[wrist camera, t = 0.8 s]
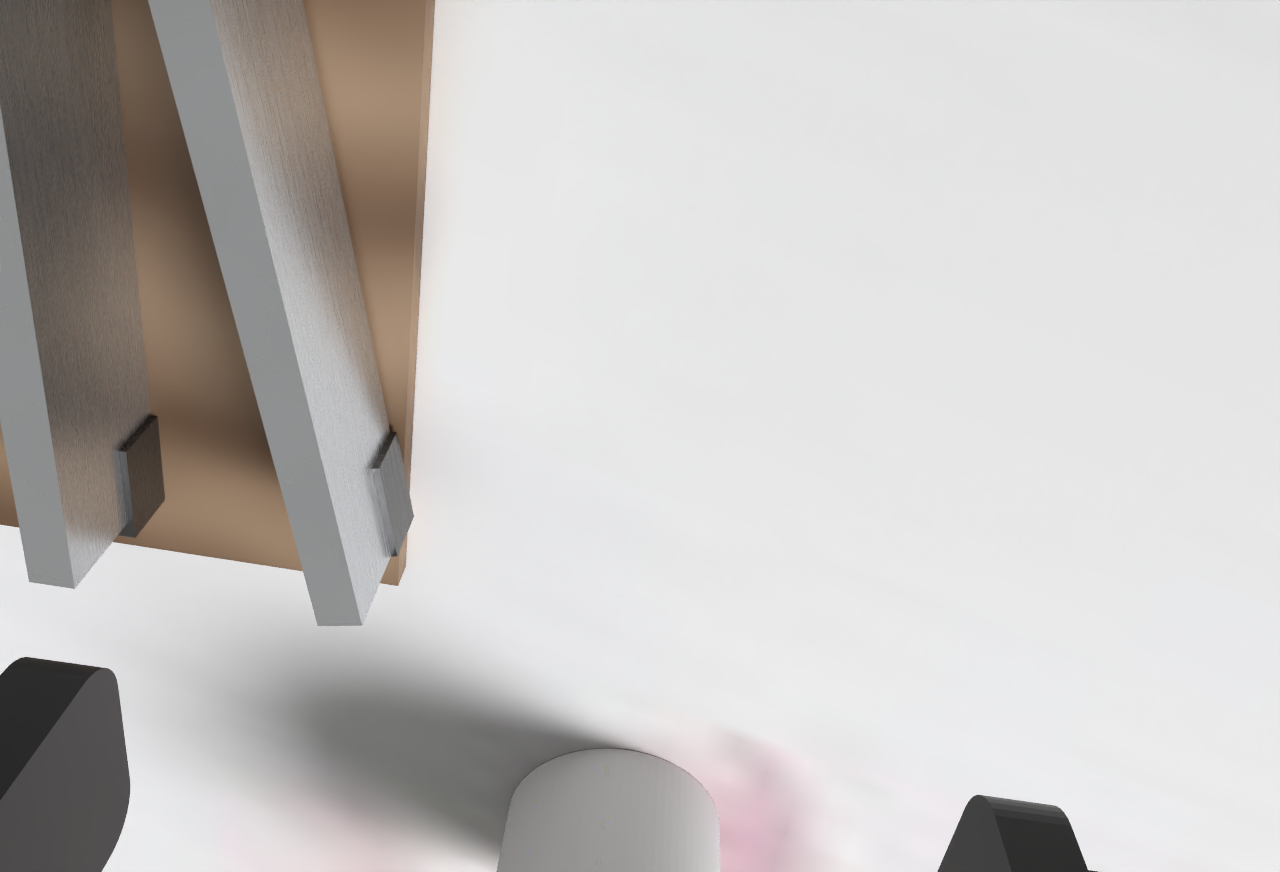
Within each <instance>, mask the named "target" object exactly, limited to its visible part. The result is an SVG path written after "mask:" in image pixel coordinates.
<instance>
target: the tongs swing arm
mask: <svg viewBox="0 0 1280 872" xmlns="http://www.w3.org/2000/svg"><path fill="white" fill-rule="evenodd" d="M148 3H149V6H150V10H151V14H152V17H153V21H154V25H155V28H156V32H157V36H158V39H159V43H160V47H161V50H162V54H163V58H164V61H165V65H166V69H167V72H168V76H169V80H170V84H171V87H172V91H173V95H174V98H175V102H176V106H177V109H178V113H179V117H180V120H181V124H182V128H183V131H184V135H185V139H186V142H187V146H188V150H189V153H190V157H191V161H192V164H193V168H194V172H195V175H196V179H197V183H198V187H199V190H200V194H201V198H202V201H203V205H204V209H205V212H206V216H207V220H208V223H209V227H210V231H211V234H212V238H213V242H214V245H215V249H216V253H217V256H218V260H219V264H220V267H221V271H222V275H223V278H224V282H225V286H226V289H227V293H228V297H229V301H230V304H231V308H232V312H233V315H234V319H235V323H236V326H237V330H238V334H239V337H240V341H241V345H242V348H243V352H244V356H245V359H246V363H247V367H248V370H249V374H250V378H251V381H252V385H253V389H254V392H255V396H256V400H257V404H258V407H259V411H260V415H261V418H262V422H263V426H264V429H265V433H266V437H267V440H268V444H269V448H270V451H271V455H272V459H273V462H274V466H275V470H276V473H277V477H278V481H279V484H280V488H281V492H282V495H283V499H284V503H285V506H286V510H287V514H288V518H289V521H290V525H291V529H292V532H293V536H294V540H295V543H296V547H297V551H298V554H299V558H300V562H301V565H302V569H303V573H304V576H305V580H306V584H307V587H308V591H309V595H310V598H311V602H312V606H313V609H314V613H315V617H316V621H317V624H318V626H358V625H363V622H364V620H365V617H366V615H367V613H368V610H369V608H370V605H371V603H372V601H373V598H374V596H375V593H376V591H377V588H378V586H379V584H380V581H381V579H382V576H383V574H384V572H385V569H386V567H387V564H388V562H389V560H390V557H395V556H398V554H399V552H400V549H401V547H402V544H403V542H404V539H405V537H406V534H407V532H408V529H409V527H410V525H411V522H412V520H413V517H414V515H413V510H412V505H411V500H410V495H409V490H408V485H407V480H406V475H405V470H404V465H403V460H402V455H401V450H400V445H399V440H398V435H397V432H390V429H389V424H388V419H387V414H386V409H385V404H384V399H383V394H382V389H381V384H380V379H379V374H378V370H377V365H376V360H375V355H374V350H373V345H372V340H371V335H370V330H369V325H368V320H367V315H366V310H365V305H364V300H363V296H362V291H361V286H360V281H359V276H358V271H357V266H356V261H355V256H354V251H353V246H352V241H351V236H350V231H349V226H348V221H347V217H346V212H345V207H344V202H343V197H342V192H341V187H340V182H339V177H338V172H337V167H336V162H335V157H334V152H333V147H332V143H331V138H330V133H329V128H328V123H327V118H326V113H325V108H324V103H323V98H322V93H321V88H320V83H319V78H318V73H317V68H316V64H315V59H314V54H313V49H312V44H311V39H310V34H309V29H308V24H307V19H306V14H305V9H304V4H303V0H148Z"/></svg>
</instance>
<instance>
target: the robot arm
mask: <svg viewBox="0 0 1280 872" xmlns="http://www.w3.org/2000/svg"><path fill="white" fill-rule="evenodd" d="M129 797H130V777H129V769H128V761H127V753H126V746H125V738H124V730H123V722H122V714H121V706H120V699H119V691H118V684H117V679H116V677H115V674H114V673H113V672H112V671H111V670H110V669H108V668H101V667H94V666H87V665H79V664H72V663H65V662H58V661H51V660H44V659H37V658H30V657H24V658H20V659H18V660H16V661H14V662H13V663H12V664H11V665H9V666H8V667H7V669H6V670H5V671H4V672H3V673H2V674H1V675H0V872H102V870H103V868H104V866H105V865H106V863H107V861H108V859H109V858H110V856H111V854H112V852H113V850H114V848H115V846H116V844H117V841H118V839H119V836H120V834H121V831H122V828H123V825H124V822H125V818H126V814H127V809H128V804H129ZM938 872H1097V871H1089V870H1088V869H1087V866H1086V864H1085V861H1084V859H1083V856H1082V853H1081V851H1080V848H1079V845H1078V843H1077V840H1076V837H1075V835H1074V832H1073V830H1072V827H1071V825H1070V822H1069V820H1068V818H1067V817H1066V815H1065V813H1064V812H1063V811H1062V810H1061V809H1060V808H1058V807H1057V806H1053V805H1046V804H1039V803H1032V802H1025V801H1018V800H1011V799H1004V798H997V797H990V796H983V795H976V796H974V797H973V798H971V799H970V801H969V802H968V804H967V805H966V807H965V809H964V812H963V814H962V816H961V819H960V821H959V823H958V826H957V828H956V830H955V833H954V835H953V837H952V840H951V842H950V844H949V846H948V849H947V851H946V853H945V856H944V858H943V860H942V863H941V865H940V867H939V870H938Z"/></svg>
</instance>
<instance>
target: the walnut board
mask: <svg viewBox="0 0 1280 872" xmlns="http://www.w3.org/2000/svg"><path fill="white" fill-rule="evenodd" d="M303 4H304V9H305V14H306V19H307V24H308V29H309V34H310V39H311V44H312V49H313V54H314V59H315V64H316V68H317V73H318V78H319V83H320V88H321V93H322V98H323V103H324V108H325V113H326V118H327V123H328V128H329V133H330V138H331V143H332V147H333V152H334V157H335V162H336V167H337V172H338V177H339V182H340V187H341V192H342V197H343V202H344V207H345V212H346V217H347V221H348V226H349V231H350V236H351V241H352V246H353V251H354V256H355V261H356V266H357V271H358V276H359V281H360V286H361V291H362V296H363V300H364V305H365V310H366V315H367V320H368V325H369V330H370V335H371V340H372V345H373V350H374V355H375V360H376V365H377V370H378V374H379V379H380V384H381V389H382V394H383V399H384V404H385V409H386V414H387V419H388V424H389V429H390V432H397V435H398V440H399V445H400V450H401V455H402V460H403V465H404V470H405V475H406V480H407V485H408V490H410V470H411V451H412V432H413V412H414V393H415V374H416V355H417V335H418V316H419V297H420V277H421V258H422V239H423V219H424V200H425V181H426V161H427V142H428V123H429V104H430V84H431V65H432V46H433V26H434V7H435V0H303ZM111 7H112V17H113V27H114V38H115V48H116V59H117V69H118V79H119V90H120V100H121V111H122V121H123V131H124V142H125V152H126V163H127V173H128V183H129V194H130V204H131V215H132V225H133V236H134V246H135V256H136V267H137V277H138V288H139V298H140V308H141V319H142V329H143V340H144V350H145V360H146V371H147V381H148V392H149V402H150V412H151V416H157V417H158V426H159V437H160V448H161V459H162V470H163V480H164V491H165V501H164V502H163V503H162V504H161V506H160V507H159V508H158V510H157V511H156V512H155V513H154V515H153V516H152V517H151V519H150V520H149V521H148V523H147V524H146V525H145V526H144V528H143V529H142V530H141V532H140V533H139V534H138V535H137V537H136V538H133V537H126V536H120V535H117V536H116V538H115V539H114V540H113V541H112V542H117V543H123V544H130V545H136V546H143V547H149V548H156V549H162V550H169V551H175V552H182V553H188V554H195V555H201V556H208V557H214V558H221V559H227V560H234V561H240V562H247V563H253V564H260V565H266V566H273V567H279V568H286V569H292V570H299V571H303V569H302V565H301V562H300V558H299V554H298V551H297V547H296V543H295V540H294V536H293V532H292V529H291V525H290V521H289V518H288V514H287V510H286V506H285V503H284V499H283V495H282V492H281V488H280V484H279V481H278V477H277V473H276V470H275V466H274V462H273V459H272V455H271V451H270V448H269V444H268V440H267V437H266V433H265V429H264V426H263V422H262V418H261V415H260V411H259V407H258V404H257V400H256V396H255V392H254V389H253V385H252V381H251V378H250V374H249V370H248V367H247V363H246V359H245V356H244V352H243V348H242V345H241V341H240V337H239V334H238V330H237V326H236V323H235V319H234V315H233V312H232V308H231V304H230V301H229V297H228V293H227V289H226V286H225V282H224V278H223V275H222V271H221V267H220V264H219V260H218V256H217V253H216V249H215V245H214V242H213V238H212V234H211V231H210V227H209V223H208V220H207V216H206V212H205V209H204V205H203V201H202V198H201V194H200V190H199V187H198V183H197V179H196V175H195V172H194V168H193V164H192V161H191V157H190V153H189V150H188V146H187V142H186V139H185V135H184V131H183V128H182V124H181V120H180V117H179V113H178V109H177V106H176V102H175V98H174V95H173V91H172V87H171V84H170V80H169V76H168V72H167V69H166V65H165V61H164V58H163V54H162V50H161V47H160V43H159V39H158V36H157V32H156V28H155V25H154V21H153V17H152V14H151V10H150V6H149V3H148V0H111ZM0 525H7V526H13V527H19V522H18V517H17V511H16V506H15V500H14V495H13V489H12V484H11V478H10V473H9V467H8V462H7V456H6V451H5V445H4V440H3V434H2V429H1V423H0ZM406 548H407V534H406V537H405V539H404V542H403V544H402V547H401V549H400V552H399V554H398V556H395V557H390V560H389V562H388V564H387V567H386V569H385V572H384V574H383V576H382V579H381V581H380V583H383V584H389V585H396V586H398V585H399V582H400V579H401V577H402V574H403V572H404V569H405V567H406Z"/></svg>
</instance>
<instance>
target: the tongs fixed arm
mask: <svg viewBox="0 0 1280 872" xmlns="http://www.w3.org/2000/svg"><path fill="white" fill-rule="evenodd" d="M0 423H1V429H2V434H3V440H4V445H5V451H6V456H7V462H8V467H9V473H10V478H11V484H12V489H13V495H14V500H15V506H16V511H17V517H18V522H19V528H20V533H21V539H22V544H23V550H24V555H25V561H26V566H27V572H28V577H29V582H34V583H40V584H47V585H53V586H60V587H67V588H73V589H75V588H76V586H77V585H78V584H79V583H80V581H81V580H82V579H83V578H84V576H85V575H86V574H87V573H88V571H89V570H90V569H91V568H92V566H93V565H94V564H95V563H96V561H97V560H98V559H99V558H100V556H101V555H102V554H103V553H104V551H105V550H106V549H107V548H108V546H109V545H110V544H111V543H112V541H113V540H114V539H115V538H116V536H117V535H120V536H126V537H133V538H136V537H137V535H138V534H139V533H140V532H141V530H142V529H143V528H144V526H145V525H146V524H147V523H148V521H149V520H150V519H151V517H152V516H153V515H154V513H155V512H156V511H157V510H158V508H159V507H160V506H161V504H162V503H163V502H164V501H165V491H164V480H163V470H162V459H161V448H160V437H159V426H158V417H157V416H151V412H150V402H149V392H148V381H147V371H146V360H145V350H144V340H143V329H142V319H141V308H140V298H139V288H138V277H137V267H136V256H135V246H134V236H133V225H132V215H131V204H130V194H129V183H128V173H127V163H126V152H125V142H124V131H123V121H122V111H121V100H120V90H119V79H118V69H117V59H116V48H115V38H114V27H113V17H112V7H111V0H0Z"/></svg>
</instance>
